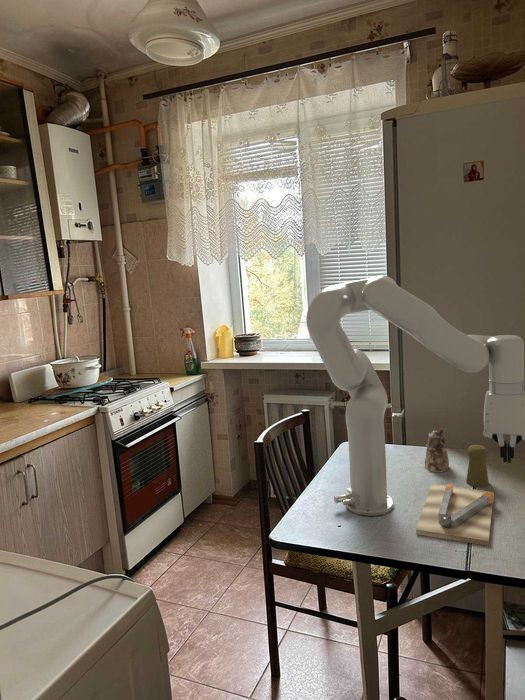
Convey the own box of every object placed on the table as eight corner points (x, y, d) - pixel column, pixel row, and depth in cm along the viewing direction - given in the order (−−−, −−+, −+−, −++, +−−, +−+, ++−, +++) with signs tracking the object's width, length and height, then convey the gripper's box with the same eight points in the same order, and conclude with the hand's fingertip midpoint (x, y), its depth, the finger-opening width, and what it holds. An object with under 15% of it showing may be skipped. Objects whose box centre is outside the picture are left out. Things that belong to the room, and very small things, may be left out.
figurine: (419, 465, 165) (419, 429, 163) (438, 461, 167) (438, 425, 165) (434, 473, 158) (433, 435, 156) (453, 469, 160) (453, 431, 158)
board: (488, 545, 119) (488, 540, 119) (416, 534, 126) (415, 529, 126) (493, 495, 142) (493, 491, 142) (431, 488, 149) (431, 484, 149)
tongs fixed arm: (445, 522, 127) (445, 514, 127) (437, 521, 128) (437, 513, 128) (453, 491, 143) (453, 484, 142) (446, 490, 144) (446, 483, 143)
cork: (485, 489, 146) (485, 451, 144) (463, 484, 150) (463, 448, 148) (491, 480, 151) (491, 444, 149) (469, 476, 154) (469, 441, 152)
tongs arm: (451, 530, 124) (451, 522, 123) (439, 525, 126) (438, 517, 126) (494, 501, 136) (494, 493, 136) (482, 497, 138) (482, 489, 138)
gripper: (541, 384, 125) (541, 457, 128) (473, 382, 131) (475, 452, 134) (542, 392, 118) (542, 469, 121) (471, 390, 124) (473, 463, 128)
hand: (507, 460), depth 128 cm, fingers closed
